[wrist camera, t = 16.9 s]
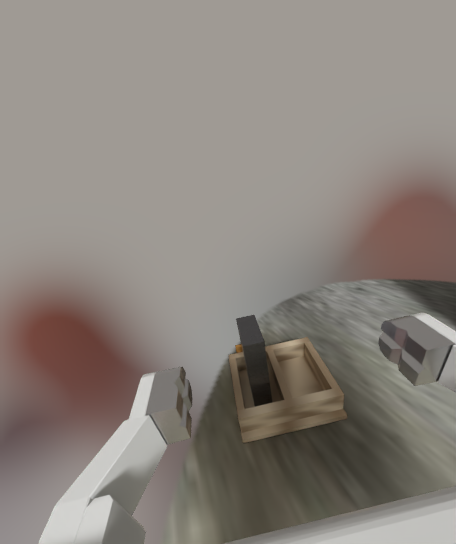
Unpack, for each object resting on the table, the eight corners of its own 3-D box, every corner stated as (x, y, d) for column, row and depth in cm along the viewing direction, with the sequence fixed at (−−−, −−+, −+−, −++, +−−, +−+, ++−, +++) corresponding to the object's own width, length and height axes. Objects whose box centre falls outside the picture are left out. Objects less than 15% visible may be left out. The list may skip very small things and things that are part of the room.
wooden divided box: (306, 349, 37) (305, 328, 35) (346, 418, 27) (350, 394, 25) (231, 366, 37) (226, 346, 35) (243, 443, 26) (236, 420, 24)
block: (263, 373, 34) (254, 314, 28) (272, 404, 29) (264, 341, 24) (247, 377, 34) (236, 318, 28) (255, 408, 29) (242, 346, 24)
